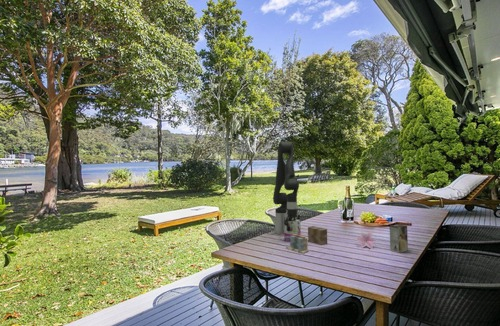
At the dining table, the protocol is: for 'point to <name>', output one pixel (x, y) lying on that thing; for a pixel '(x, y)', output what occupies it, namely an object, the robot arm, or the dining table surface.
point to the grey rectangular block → (298, 243)
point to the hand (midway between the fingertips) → (292, 230)
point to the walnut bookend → (317, 235)
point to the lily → (366, 240)
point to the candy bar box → (292, 229)
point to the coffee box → (398, 238)
